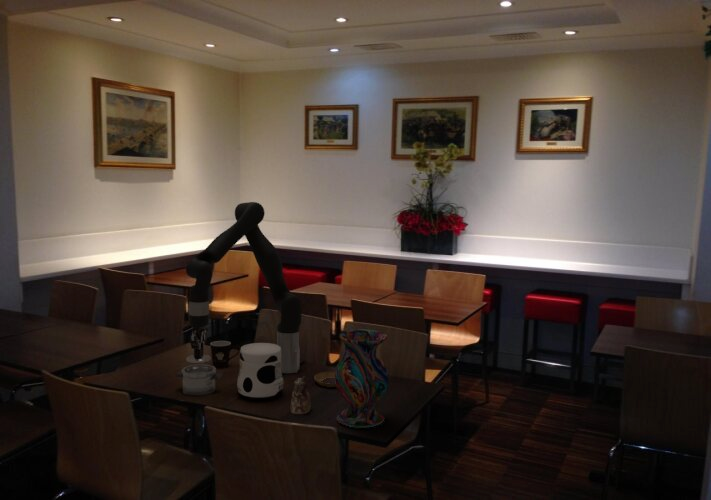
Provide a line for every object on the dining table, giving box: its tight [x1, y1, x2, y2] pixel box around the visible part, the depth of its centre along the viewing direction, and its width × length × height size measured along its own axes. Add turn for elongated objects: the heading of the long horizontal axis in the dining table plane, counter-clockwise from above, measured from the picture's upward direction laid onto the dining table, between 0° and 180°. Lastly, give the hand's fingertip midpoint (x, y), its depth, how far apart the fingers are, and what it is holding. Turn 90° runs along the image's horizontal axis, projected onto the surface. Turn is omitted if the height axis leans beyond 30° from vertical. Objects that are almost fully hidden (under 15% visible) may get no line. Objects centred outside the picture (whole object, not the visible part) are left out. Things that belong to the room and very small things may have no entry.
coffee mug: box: [210, 340, 241, 369], centre depth 266 cm, size 12×9×10 cm
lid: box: [185, 348, 212, 364], centre depth 235 cm, size 9×9×4 cm
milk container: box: [236, 342, 284, 400], centre depth 233 cm, size 17×17×18 cm
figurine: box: [290, 375, 312, 415], centre depth 219 cm, size 7×7×12 cm
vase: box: [335, 328, 390, 429], centre depth 211 cm, size 18×18×30 cm
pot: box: [175, 363, 223, 397], centre depth 236 cm, size 17×12×8 cm
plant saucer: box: [313, 371, 337, 388], centre depth 250 cm, size 15×15×3 cm
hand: (198, 357), depth 235 cm, fingers closed on lid, 2 cm apart
